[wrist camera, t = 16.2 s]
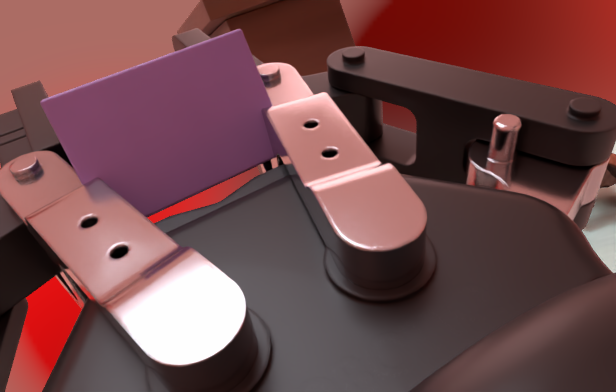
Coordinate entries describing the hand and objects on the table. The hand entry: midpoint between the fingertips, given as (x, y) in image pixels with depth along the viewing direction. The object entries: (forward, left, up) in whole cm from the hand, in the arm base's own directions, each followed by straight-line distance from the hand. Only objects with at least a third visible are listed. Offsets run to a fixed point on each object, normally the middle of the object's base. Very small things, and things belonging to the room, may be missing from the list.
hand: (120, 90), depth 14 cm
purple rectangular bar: (-1, -3, -3) cm, 4 cm away
